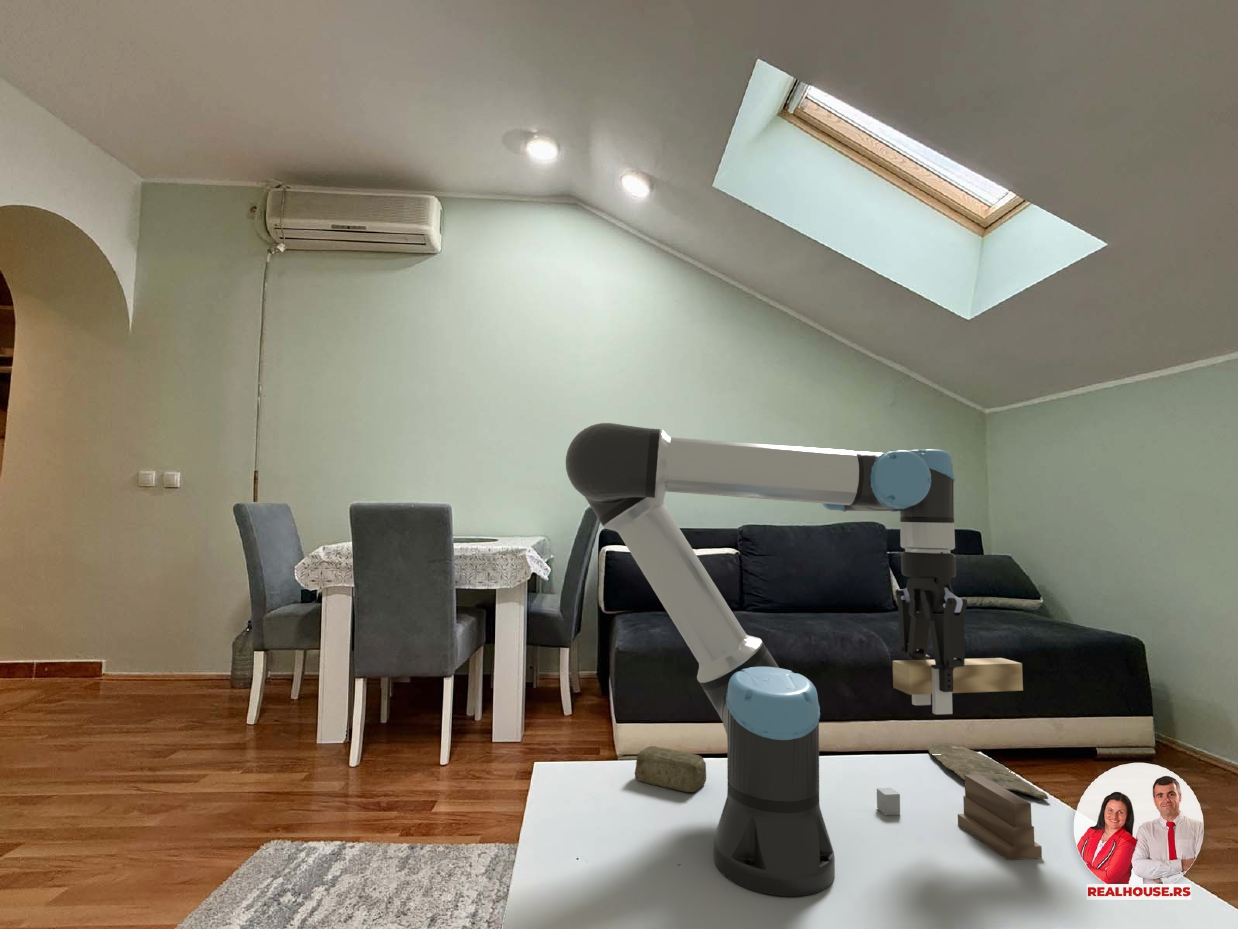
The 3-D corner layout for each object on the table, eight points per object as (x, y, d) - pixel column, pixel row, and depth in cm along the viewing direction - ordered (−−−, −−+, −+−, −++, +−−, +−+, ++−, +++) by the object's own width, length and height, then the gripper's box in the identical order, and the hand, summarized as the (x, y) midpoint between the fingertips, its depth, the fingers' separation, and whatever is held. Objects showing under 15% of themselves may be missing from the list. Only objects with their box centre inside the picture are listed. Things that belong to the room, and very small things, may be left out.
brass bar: (909, 694, 93) (909, 666, 93) (893, 687, 97) (892, 660, 97) (1023, 690, 96) (1021, 663, 97) (1002, 684, 100) (1001, 657, 100)
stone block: (695, 797, 102) (695, 765, 103) (631, 783, 108) (632, 752, 108) (708, 785, 107) (708, 754, 108) (646, 772, 113) (646, 742, 113)
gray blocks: (885, 815, 97) (885, 794, 97) (877, 808, 99) (876, 788, 99) (990, 811, 99) (989, 790, 99) (980, 804, 101) (979, 784, 101)
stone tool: (1053, 806, 102) (967, 751, 127) (1052, 787, 102) (966, 736, 127) (985, 805, 102) (912, 751, 127) (984, 787, 102) (912, 736, 127)
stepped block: (1007, 860, 84) (1005, 804, 85) (957, 824, 94) (956, 775, 95) (1041, 858, 85) (1039, 803, 85) (989, 823, 95) (987, 774, 95)
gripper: (991, 554, 90) (997, 725, 88) (914, 549, 107) (917, 693, 104) (944, 553, 88) (949, 727, 86) (873, 548, 105) (875, 694, 103)
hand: (931, 708), depth 95 cm, fingers closed on brass bar, 4 cm apart
